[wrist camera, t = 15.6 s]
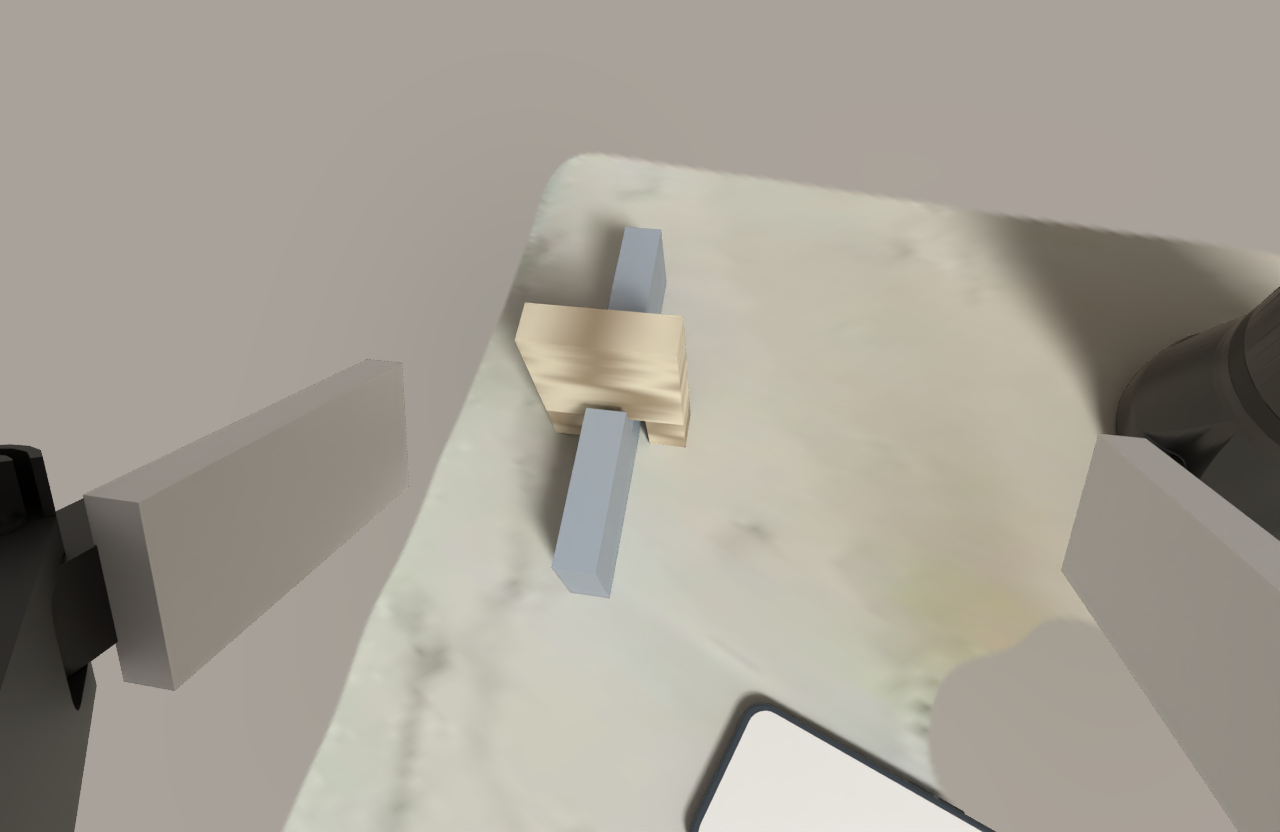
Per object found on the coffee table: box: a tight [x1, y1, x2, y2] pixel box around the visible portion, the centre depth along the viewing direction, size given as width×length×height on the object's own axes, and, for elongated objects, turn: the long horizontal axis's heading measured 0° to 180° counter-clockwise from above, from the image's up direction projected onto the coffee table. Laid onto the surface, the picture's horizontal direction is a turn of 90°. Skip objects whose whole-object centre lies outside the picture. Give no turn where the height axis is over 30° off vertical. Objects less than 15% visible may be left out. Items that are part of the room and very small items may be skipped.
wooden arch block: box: [515, 303, 690, 447], centre depth 46 cm, size 9×2×12 cm, turn 81°
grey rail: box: [552, 227, 666, 598], centre depth 49 cm, size 2×24×6 cm, turn 171°
